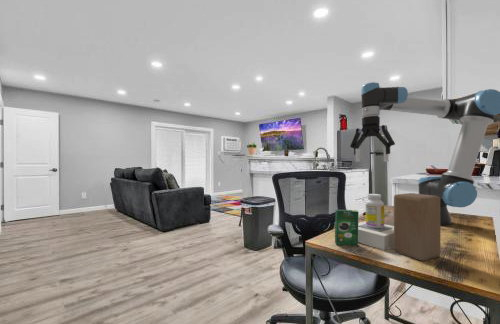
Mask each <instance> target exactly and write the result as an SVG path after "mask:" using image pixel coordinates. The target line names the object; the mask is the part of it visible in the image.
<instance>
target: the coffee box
mask: <svg viewBox="0 0 500 324" xmlns="http://www.w3.org/2000/svg"><path fill="white" fill-rule="evenodd" d="M359 213H360V212H359V211H358V210H357V209H356V210H355V209H353V210H352V209H335V214H334V215H335V217H334V243H335V245H336V246H350V247H351V246H352V247H355V246H359V242H358V223H359Z"/></svg>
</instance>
